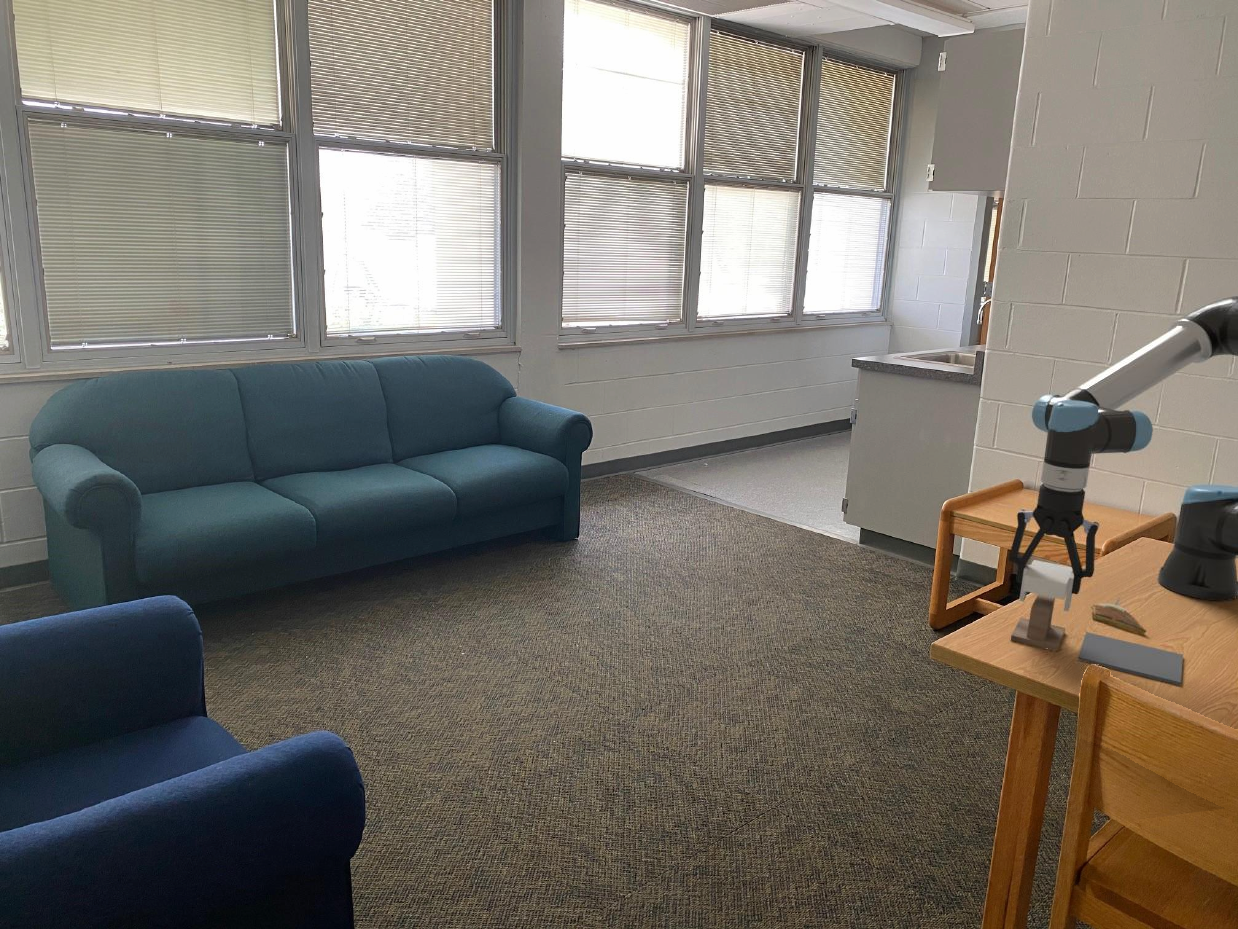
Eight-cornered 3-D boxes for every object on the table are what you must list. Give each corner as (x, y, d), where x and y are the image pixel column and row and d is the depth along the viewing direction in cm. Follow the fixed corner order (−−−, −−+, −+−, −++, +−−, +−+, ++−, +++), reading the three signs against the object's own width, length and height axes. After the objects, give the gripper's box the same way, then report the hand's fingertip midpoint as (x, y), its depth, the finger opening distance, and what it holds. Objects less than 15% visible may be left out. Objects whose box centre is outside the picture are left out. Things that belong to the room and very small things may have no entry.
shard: (1145, 638, 178) (1147, 629, 177) (1103, 634, 179) (1105, 625, 178) (1123, 615, 188) (1125, 607, 188) (1084, 611, 189) (1085, 603, 188)
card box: (1031, 574, 179) (1033, 559, 178) (1071, 582, 175) (1073, 567, 175) (1022, 590, 171) (1024, 575, 170) (1063, 599, 167) (1066, 584, 166)
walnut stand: (1020, 622, 182) (1025, 589, 180) (1064, 632, 178) (1070, 598, 176) (1010, 640, 173) (1016, 605, 172) (1057, 651, 169) (1063, 616, 168)
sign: (1136, 595, 198) (1125, 615, 186) (1135, 598, 198) (1124, 619, 186) (1109, 588, 201) (1096, 608, 189) (1108, 592, 201) (1095, 612, 189)
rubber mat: (1077, 660, 166) (1077, 657, 166) (1085, 634, 177) (1086, 632, 177) (1180, 685, 158) (1180, 682, 158) (1182, 657, 169) (1183, 654, 169)
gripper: (1000, 481, 170) (984, 597, 176) (1122, 501, 160) (1101, 623, 166) (1008, 473, 176) (992, 585, 182) (1126, 491, 166) (1105, 609, 172)
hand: (1044, 603), depth 174 cm, fingers closed on card box, 7 cm apart
